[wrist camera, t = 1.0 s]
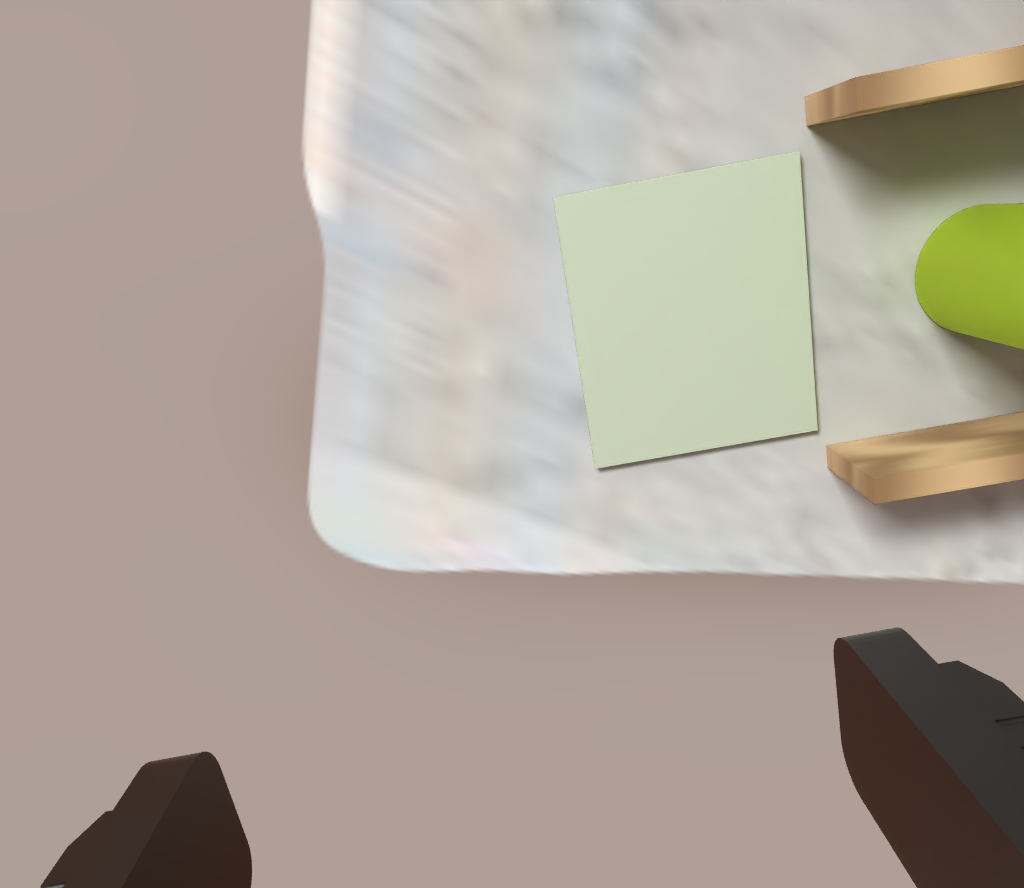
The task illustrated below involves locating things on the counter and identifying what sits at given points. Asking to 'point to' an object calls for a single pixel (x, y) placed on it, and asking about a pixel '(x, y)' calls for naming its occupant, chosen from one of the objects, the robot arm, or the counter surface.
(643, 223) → the mat
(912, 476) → the oak channel
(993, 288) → the soap dispenser
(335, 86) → the counter surface
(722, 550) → the counter surface
